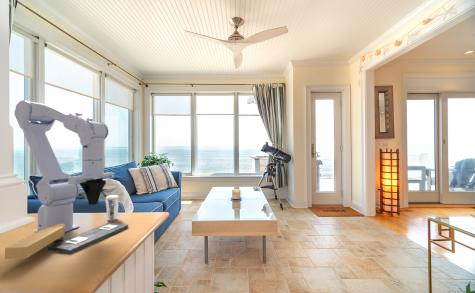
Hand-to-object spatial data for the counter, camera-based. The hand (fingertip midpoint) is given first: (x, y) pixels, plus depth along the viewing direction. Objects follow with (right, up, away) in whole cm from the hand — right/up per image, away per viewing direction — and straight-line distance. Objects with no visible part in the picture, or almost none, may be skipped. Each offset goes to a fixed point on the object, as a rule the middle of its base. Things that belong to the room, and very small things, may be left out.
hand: (93, 204), depth 72 cm
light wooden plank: (-6, -7, -12) cm, 15 cm away
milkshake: (-2, -10, +15) cm, 18 cm away
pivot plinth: (-7, -9, -5) cm, 13 cm away
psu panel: (+1, -9, -3) cm, 10 cm away
